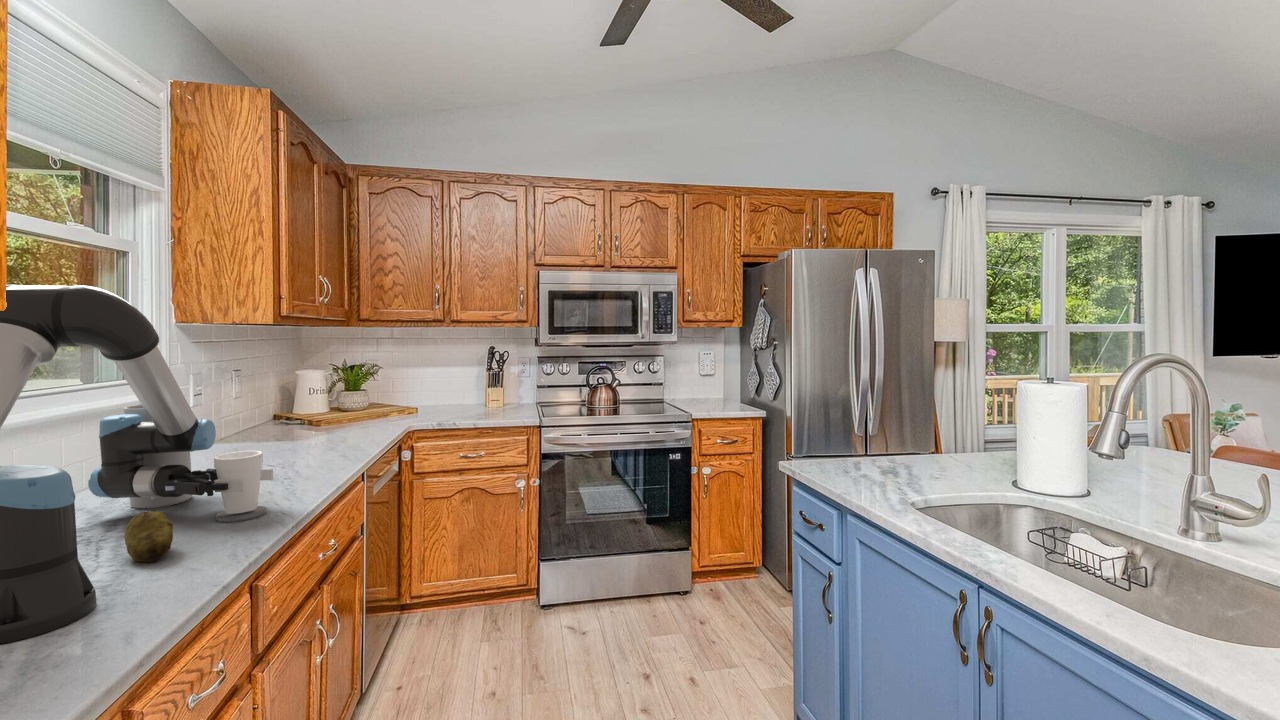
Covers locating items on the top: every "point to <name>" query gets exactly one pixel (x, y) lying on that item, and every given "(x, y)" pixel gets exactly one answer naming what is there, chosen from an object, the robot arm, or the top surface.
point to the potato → (149, 536)
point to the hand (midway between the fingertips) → (258, 479)
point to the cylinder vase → (158, 459)
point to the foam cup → (240, 468)
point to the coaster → (241, 515)
